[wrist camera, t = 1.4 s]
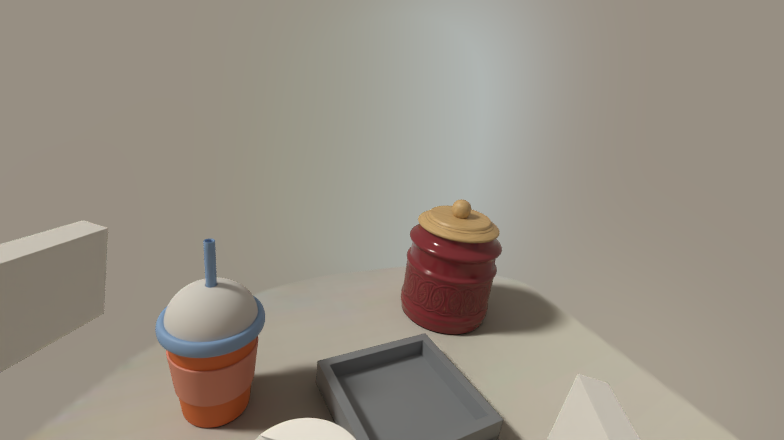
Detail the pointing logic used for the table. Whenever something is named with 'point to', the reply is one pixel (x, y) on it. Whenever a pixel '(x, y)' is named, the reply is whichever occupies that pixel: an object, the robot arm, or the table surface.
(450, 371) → the tray
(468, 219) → the canister
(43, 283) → the robot arm
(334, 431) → the paper cup
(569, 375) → the table surface
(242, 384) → the cup with straw
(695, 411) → the table surface
